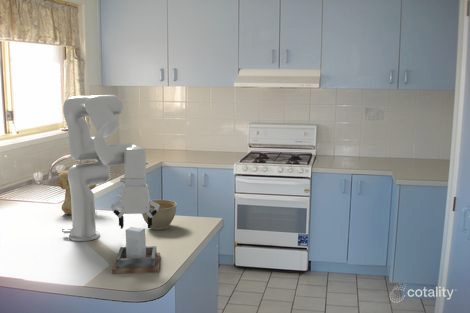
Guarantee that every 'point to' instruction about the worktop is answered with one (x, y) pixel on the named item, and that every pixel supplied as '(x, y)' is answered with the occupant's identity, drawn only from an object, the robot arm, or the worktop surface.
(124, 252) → the socket stand
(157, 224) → the planter bowl
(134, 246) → the skincare box
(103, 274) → the worktop surface
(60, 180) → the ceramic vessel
